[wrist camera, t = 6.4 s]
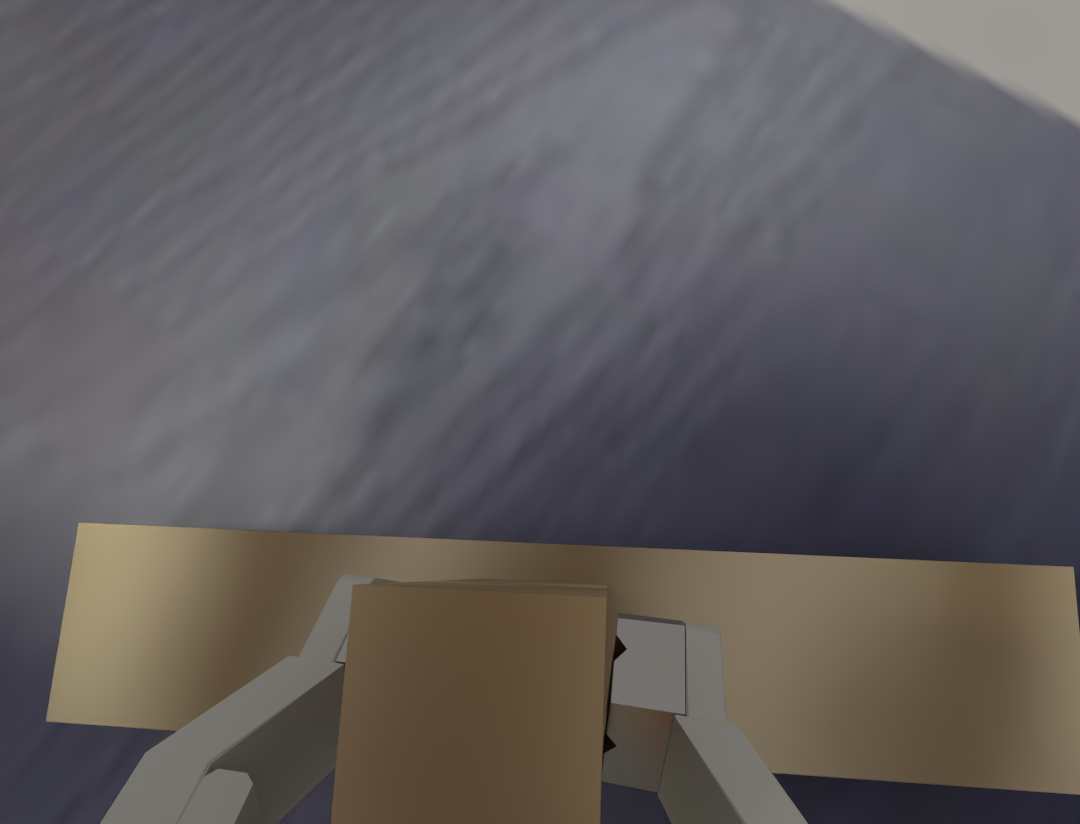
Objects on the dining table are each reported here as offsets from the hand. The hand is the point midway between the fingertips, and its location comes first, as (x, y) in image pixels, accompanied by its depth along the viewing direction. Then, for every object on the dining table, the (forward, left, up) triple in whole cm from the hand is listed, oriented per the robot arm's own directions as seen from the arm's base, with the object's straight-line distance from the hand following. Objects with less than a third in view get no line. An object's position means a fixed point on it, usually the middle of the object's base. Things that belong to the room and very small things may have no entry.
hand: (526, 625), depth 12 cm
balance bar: (0, -1, -5) cm, 5 cm away
